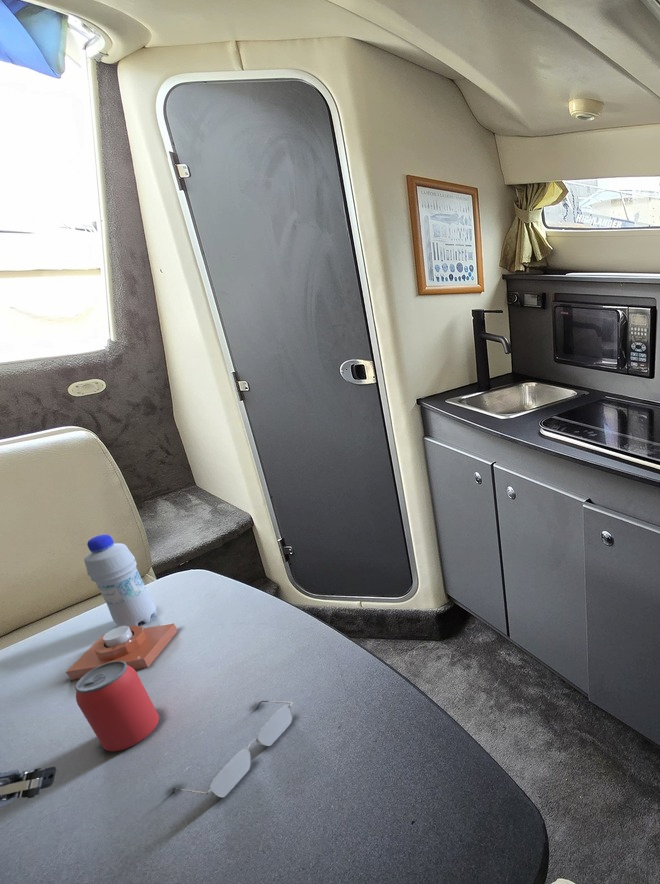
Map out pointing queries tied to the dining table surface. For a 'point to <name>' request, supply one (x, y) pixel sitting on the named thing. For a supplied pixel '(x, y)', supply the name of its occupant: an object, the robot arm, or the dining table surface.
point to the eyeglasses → (243, 759)
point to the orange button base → (125, 650)
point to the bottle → (119, 581)
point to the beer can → (116, 705)
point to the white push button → (117, 636)
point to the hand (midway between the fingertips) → (47, 777)
